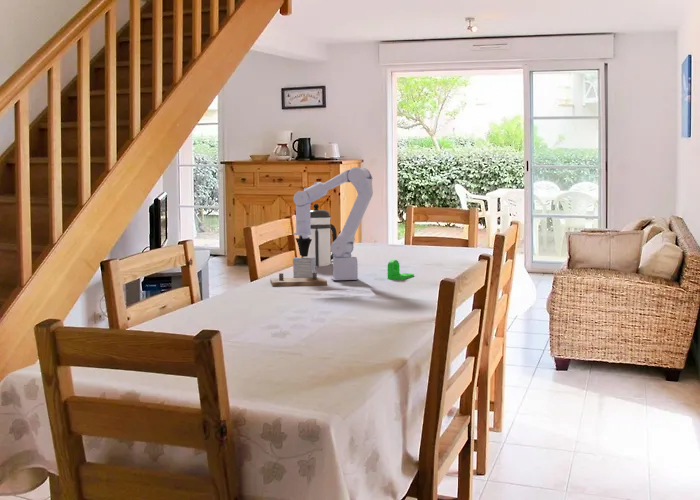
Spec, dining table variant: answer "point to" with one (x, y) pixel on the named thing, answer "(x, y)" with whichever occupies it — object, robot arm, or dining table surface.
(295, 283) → the walnut board
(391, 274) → the mechanical part
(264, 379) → the dining table surface
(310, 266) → the medicine box
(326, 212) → the coffee press
